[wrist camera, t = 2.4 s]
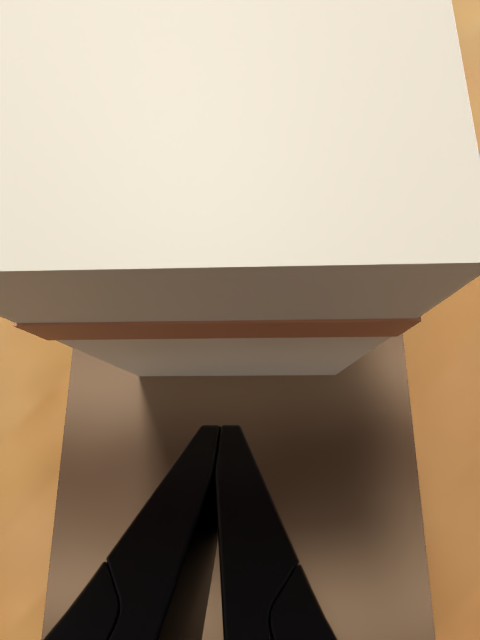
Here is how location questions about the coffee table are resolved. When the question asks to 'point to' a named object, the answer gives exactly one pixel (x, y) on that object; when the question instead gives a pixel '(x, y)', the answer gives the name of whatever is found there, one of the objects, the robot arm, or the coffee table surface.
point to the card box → (233, 179)
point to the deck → (278, 473)
